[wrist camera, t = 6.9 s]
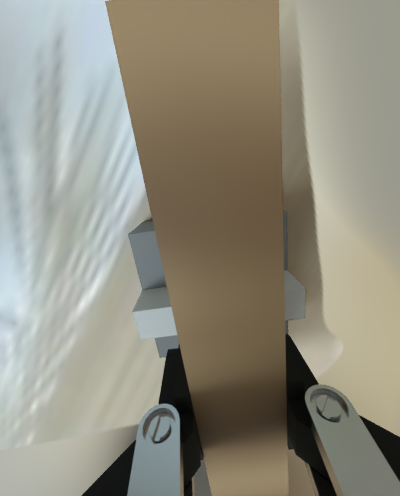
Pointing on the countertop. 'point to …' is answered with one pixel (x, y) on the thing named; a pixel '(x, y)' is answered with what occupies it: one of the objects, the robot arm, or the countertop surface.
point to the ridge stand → (157, 298)
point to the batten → (217, 215)
